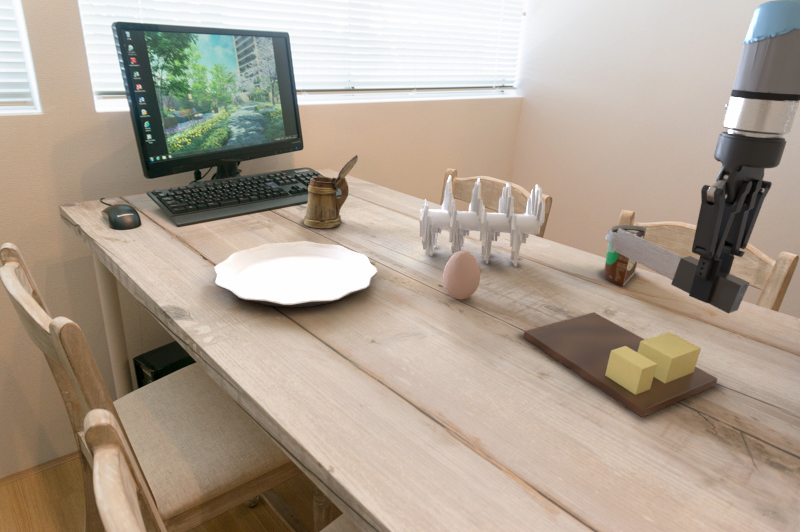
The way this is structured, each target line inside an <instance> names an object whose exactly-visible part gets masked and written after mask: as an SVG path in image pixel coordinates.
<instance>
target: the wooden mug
mask: <svg viewBox="0 0 800 532" xmlns="http://www.w3.org/2000/svg"><path fill="white" fill-rule="evenodd" d="M358 159H359V156H358V155H357V154H356V155H355V156H353V157H352V158H350V160H349V161H347V162H346V164H345V165H344V166H343V167H342V169H341V170H340V171H339V173H338V174H337V176H333V177H329V176H313V177H311V178H310V179H309V180H310V181H309V184H308V187H307V192H308V194H307V202H306V209H305V215H304V219H303V224H304V225H305V226H307V227H309V228H314V229H332V228H336V227H338V226H340V224H341V223H342V216H341V214H340V213H341V208H342V207H343V205H344V204H345V203H346V200H347V199H348V196H349V193H350V191H349V184H348V181H347V180H346V176H347V175H349V173H350V172H351V170H352V169H353V168H354V166H355V165H356V164H357V163H358ZM339 190H340V191H341V194H340V196H339V197H337V193H338V192H339Z"/></svg>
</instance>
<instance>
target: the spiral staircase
mask: <svg viewBox="0 0 800 532" xmlns="http://www.w3.org/2000/svg"><path fill="white" fill-rule="evenodd" d="M476 178H477V180H476V181H474V185H473V186H474V188H472V191H471V202H469V206H468V211H466V210H458V209H457V210H456V202H455V198H454V194H453V180H452V175H448V178H447V179H446V183H445V187H444V193H443V194H444V195H443V202H442V204H441V208H440V209H429V206H428V199H426V198H424V201H423V203H422V208H421V209H420V213H419V237H420V238H421V244H422V249H423V250H425V255H430V256H431V257H432V256H433V255H434V251H435V248H436V247H438V239H439V234H442V231H443V230H449V237H448V238H449V243H451V254H455V253H457V252H459V251H462V248H464V247H465V237H466V236H467V237H468V236H470V232H471V231H472V232H474V231H475V232H479V242H481V253H480V254H481V256H483V261H485V264H486V265H487V264H489V259H490V257H491V253H492V242H498V237H501V233H507V234H509V247H511V253H510V260H512V261H511V263H512V265H514V267H518V260H519V255H520V250H521V246H522V244H527V239H529V237H530V235H540V233H541V227H542V226H543V225H544V223H545V216H546V200H545V201H544V200H543V186H539V183H536V184H535V187H534V188H532V189H531V192H530V196H528V197H527V203H526V209H525V212H523V213H515V208H514V204H515V203H514V202H515V195H512V183H511V182H505V186H503V187H502V195H501V196H499V201H498V212H489V211H485V210H486V209H485V208H486V205H485V204H483V203H484V200H483V199H484V198H483V197H481V195H482V181H481V177H476Z"/></svg>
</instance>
